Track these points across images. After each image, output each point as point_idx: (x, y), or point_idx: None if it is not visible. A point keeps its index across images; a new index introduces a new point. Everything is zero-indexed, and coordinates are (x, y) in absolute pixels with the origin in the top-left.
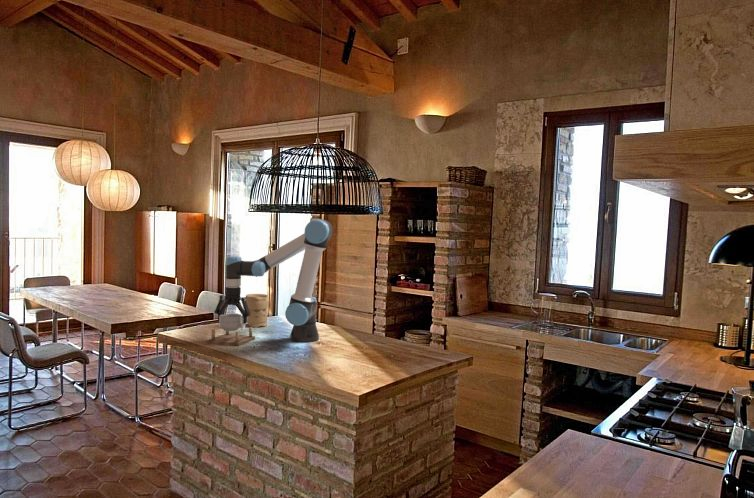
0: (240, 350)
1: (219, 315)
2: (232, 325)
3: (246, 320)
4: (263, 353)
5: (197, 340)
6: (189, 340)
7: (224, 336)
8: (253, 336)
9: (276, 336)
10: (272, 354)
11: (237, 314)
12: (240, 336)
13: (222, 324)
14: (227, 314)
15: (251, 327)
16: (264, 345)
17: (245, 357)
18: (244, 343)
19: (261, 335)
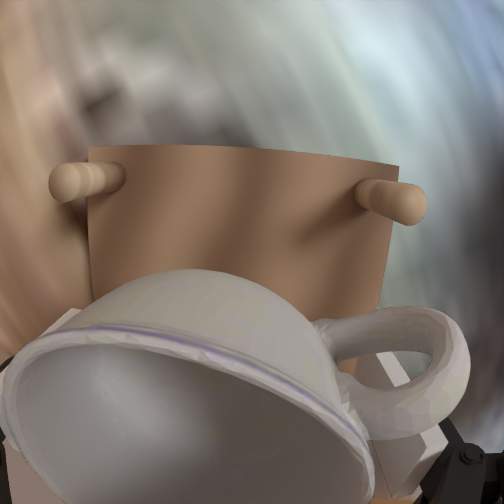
0: (374, 455)
1: (14, 447)
2: (277, 474)
3: (442, 425)
4: (469, 440)
5: (30, 334)
6: (7, 341)
7: (133, 264)
8: (388, 175)
9: (475, 42)
10: (496, 432)
11: (209, 366)
12: (271, 214)
13: (164, 478)
14: (18, 376)
15: (422, 216)
16: (480, 327)
17: (408, 495)
18: None
19: (371, 16)
